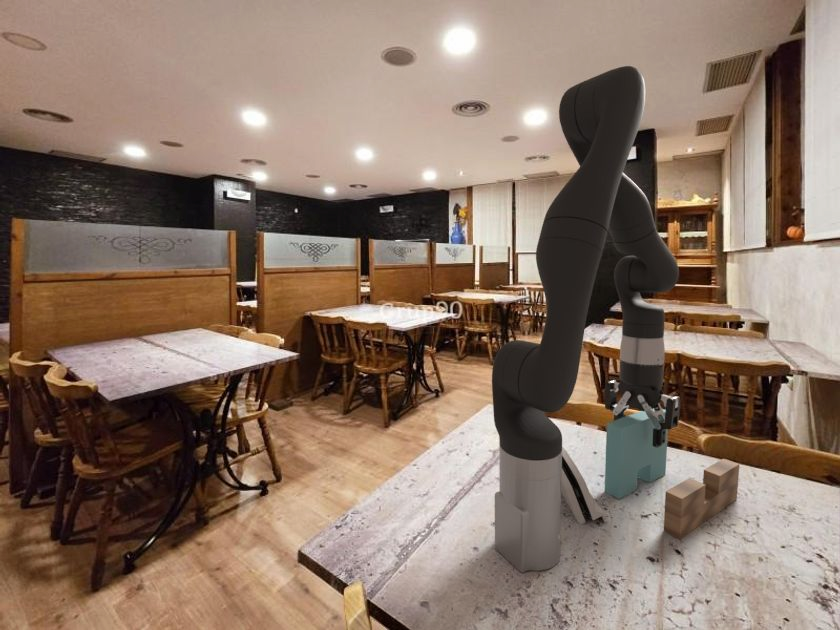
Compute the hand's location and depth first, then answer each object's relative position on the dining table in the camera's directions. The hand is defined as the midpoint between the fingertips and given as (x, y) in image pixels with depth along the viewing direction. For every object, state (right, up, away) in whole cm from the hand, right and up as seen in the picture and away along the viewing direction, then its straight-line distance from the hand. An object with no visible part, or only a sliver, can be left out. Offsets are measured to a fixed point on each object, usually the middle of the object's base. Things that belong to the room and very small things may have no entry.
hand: (638, 438), depth 79 cm
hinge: (-15, -11, -2) cm, 18 cm away
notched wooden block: (+6, -10, -9) cm, 15 cm away
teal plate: (0, -9, +1) cm, 9 cm away
